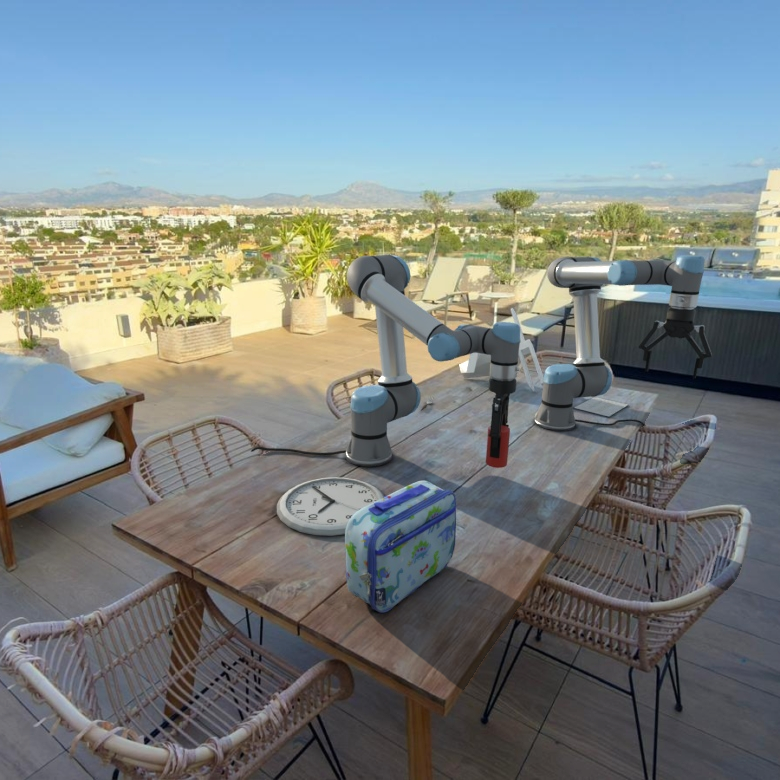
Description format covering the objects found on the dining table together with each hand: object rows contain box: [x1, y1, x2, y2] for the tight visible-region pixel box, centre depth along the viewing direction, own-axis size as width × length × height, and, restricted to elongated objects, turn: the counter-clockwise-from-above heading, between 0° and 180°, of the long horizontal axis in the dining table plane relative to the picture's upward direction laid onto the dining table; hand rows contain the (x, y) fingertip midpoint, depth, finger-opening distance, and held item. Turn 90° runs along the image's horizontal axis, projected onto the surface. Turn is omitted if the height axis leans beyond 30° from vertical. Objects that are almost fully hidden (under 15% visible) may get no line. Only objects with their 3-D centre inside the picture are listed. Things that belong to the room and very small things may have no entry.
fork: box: [420, 396, 435, 411], centre depth 223 cm, size 3×16×2 cm, turn 160°
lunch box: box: [344, 480, 457, 614], centre depth 109 cm, size 26×11×21 cm, turn 135°
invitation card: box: [573, 396, 629, 418], centre depth 226 cm, size 21×1×15 cm
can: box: [485, 425, 511, 469], centre depth 154 cm, size 6×6×11 cm
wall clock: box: [276, 476, 386, 537], centre depth 142 cm, size 30×2×30 cm
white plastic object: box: [458, 307, 544, 393], centre depth 256 cm, size 37×45×31 cm
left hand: (497, 452), depth 155 cm, fingers closed on can, 6 cm apart
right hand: (669, 374), depth 166 cm, fingers open, 13 cm apart
